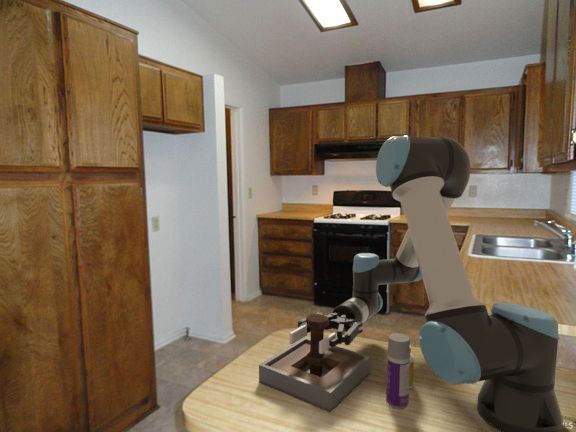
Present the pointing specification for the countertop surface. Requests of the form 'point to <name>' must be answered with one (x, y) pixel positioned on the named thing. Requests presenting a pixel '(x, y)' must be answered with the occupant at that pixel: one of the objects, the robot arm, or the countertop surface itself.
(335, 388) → the open box
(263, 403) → the countertop surface
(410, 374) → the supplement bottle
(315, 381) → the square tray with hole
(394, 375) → the container
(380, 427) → the countertop surface
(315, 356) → the bolt
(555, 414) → the robot arm
